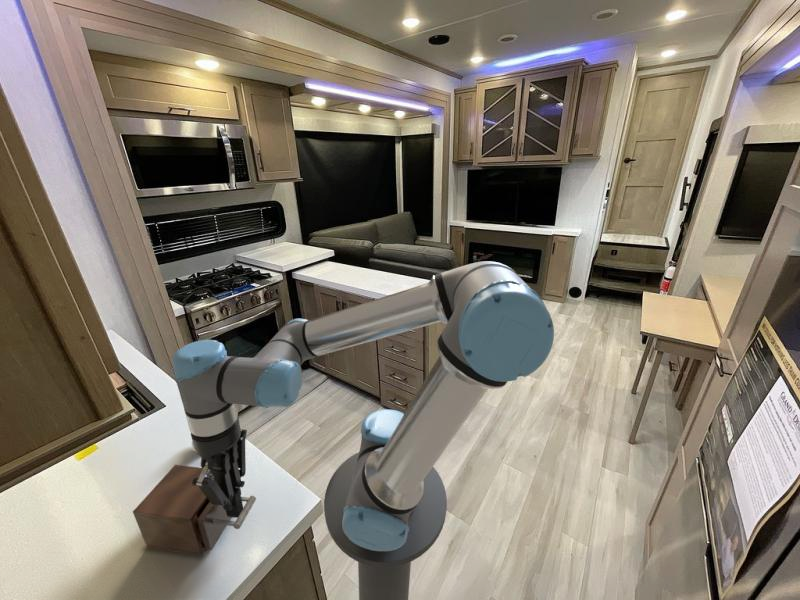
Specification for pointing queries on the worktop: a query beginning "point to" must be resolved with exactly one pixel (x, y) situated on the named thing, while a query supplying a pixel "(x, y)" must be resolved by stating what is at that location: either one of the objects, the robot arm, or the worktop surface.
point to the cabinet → (173, 512)
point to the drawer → (218, 521)
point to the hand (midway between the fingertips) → (235, 513)
